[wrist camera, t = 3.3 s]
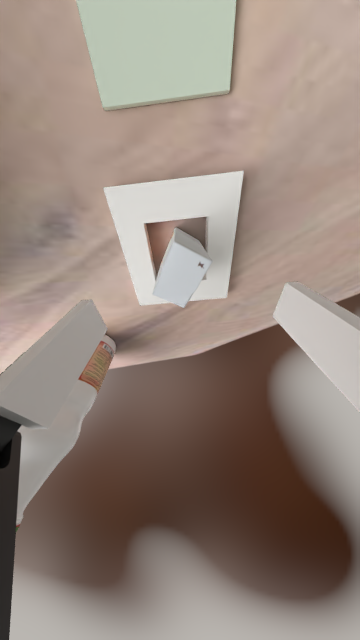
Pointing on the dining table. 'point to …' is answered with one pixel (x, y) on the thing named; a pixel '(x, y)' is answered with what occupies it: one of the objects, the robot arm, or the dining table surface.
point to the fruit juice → (60, 428)
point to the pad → (158, 49)
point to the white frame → (174, 204)
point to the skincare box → (181, 269)
